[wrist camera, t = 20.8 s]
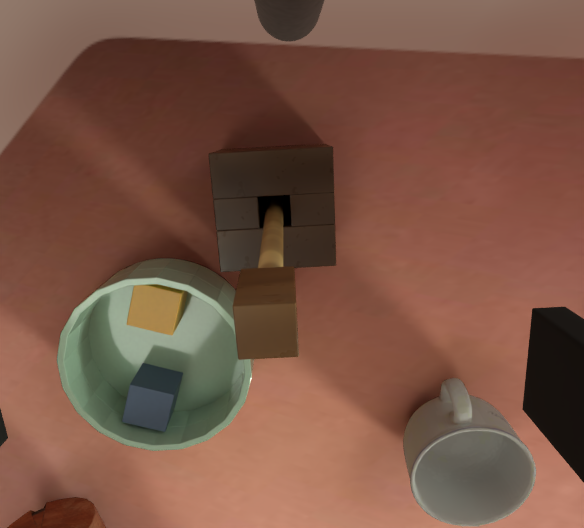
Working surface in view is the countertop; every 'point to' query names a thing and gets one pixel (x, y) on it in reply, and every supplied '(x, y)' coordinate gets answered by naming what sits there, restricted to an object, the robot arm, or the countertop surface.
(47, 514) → the potted plant
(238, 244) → the holder
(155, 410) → the slate block
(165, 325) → the mustard block
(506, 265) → the countertop surface
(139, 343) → the bowl
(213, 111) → the countertop surface
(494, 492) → the teacup
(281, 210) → the brown wooden peg
